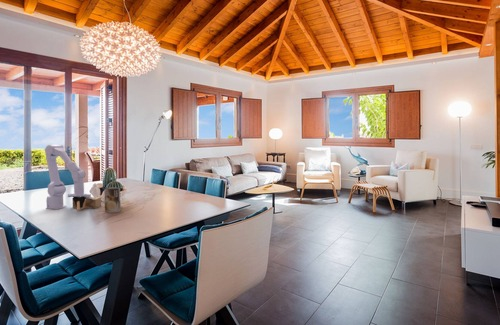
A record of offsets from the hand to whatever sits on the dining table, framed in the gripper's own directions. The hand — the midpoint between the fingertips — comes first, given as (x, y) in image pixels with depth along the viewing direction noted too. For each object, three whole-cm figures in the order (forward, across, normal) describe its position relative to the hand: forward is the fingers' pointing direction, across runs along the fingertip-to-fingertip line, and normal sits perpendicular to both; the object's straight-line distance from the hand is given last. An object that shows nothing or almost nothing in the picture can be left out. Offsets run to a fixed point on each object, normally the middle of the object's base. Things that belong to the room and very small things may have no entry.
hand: (79, 207), depth 196 cm
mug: (+2, +20, +8) cm, 22 cm away
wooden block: (+2, 0, +9) cm, 10 cm away
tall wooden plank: (+2, 0, +4) cm, 4 cm away
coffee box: (+2, +24, -3) cm, 24 cm away
